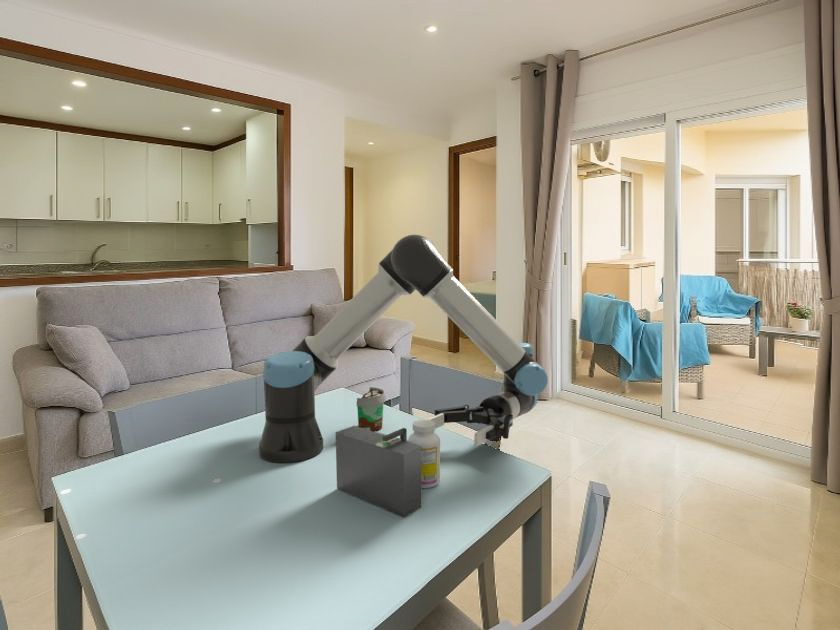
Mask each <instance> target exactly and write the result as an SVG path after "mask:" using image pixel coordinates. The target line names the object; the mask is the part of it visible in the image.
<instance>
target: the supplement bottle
mask: <svg viewBox="0 0 840 630" xmlns="http://www.w3.org/2000/svg"><path fill="white" fill-rule="evenodd" d="M412 431H413V433H411V434H410V435H409V436H408V437H407V438H408V439H407V441H410V442H413V444H416V445H420V446H421V489H429V488H433V487H436V486H437V485H439V483H440V482H441V438H440V436H439V434H437V433H436V432H435V431H436V429H435V422H434V421H431V420H426V419H418V420H415V421H413V422H412Z"/></svg>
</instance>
